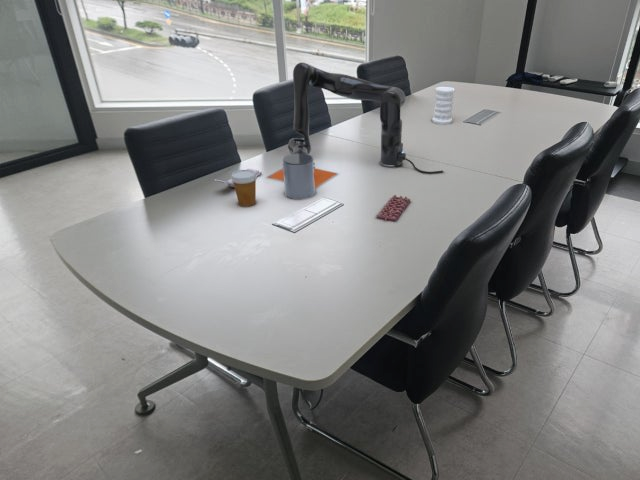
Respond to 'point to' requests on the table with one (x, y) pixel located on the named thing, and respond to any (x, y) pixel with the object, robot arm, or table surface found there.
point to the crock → (298, 176)
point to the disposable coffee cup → (245, 186)
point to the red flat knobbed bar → (393, 208)
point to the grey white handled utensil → (232, 181)
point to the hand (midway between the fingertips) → (300, 173)
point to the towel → (319, 176)
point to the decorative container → (443, 105)
